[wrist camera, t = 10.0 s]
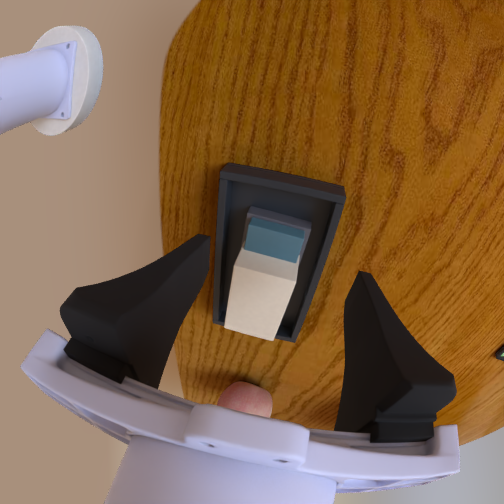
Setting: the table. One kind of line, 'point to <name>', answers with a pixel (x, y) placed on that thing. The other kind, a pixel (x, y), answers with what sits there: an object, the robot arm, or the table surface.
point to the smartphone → (500, 354)
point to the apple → (247, 399)
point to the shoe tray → (284, 202)
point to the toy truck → (265, 272)
